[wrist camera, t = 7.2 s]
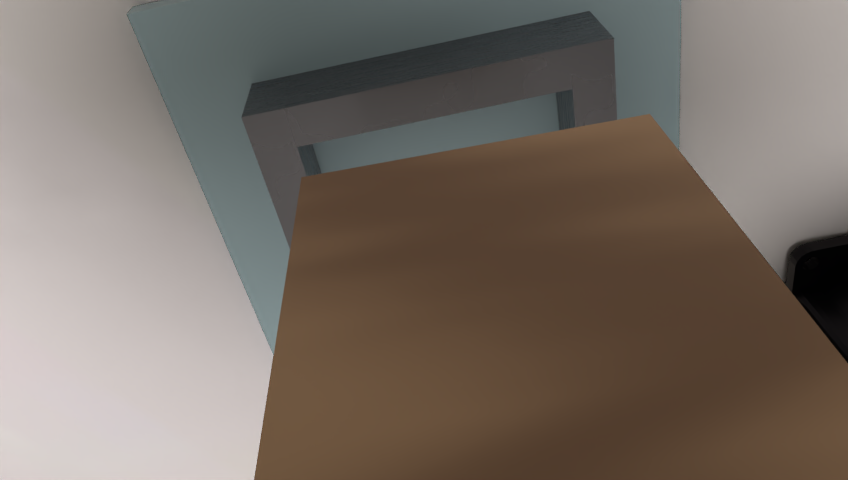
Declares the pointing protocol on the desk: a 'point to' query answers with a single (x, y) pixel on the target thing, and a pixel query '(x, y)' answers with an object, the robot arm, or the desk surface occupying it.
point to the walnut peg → (542, 325)
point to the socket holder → (384, 92)
